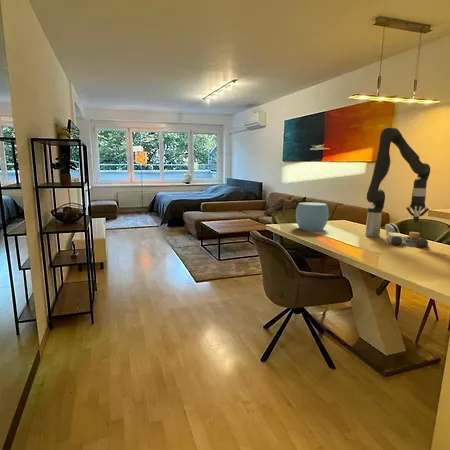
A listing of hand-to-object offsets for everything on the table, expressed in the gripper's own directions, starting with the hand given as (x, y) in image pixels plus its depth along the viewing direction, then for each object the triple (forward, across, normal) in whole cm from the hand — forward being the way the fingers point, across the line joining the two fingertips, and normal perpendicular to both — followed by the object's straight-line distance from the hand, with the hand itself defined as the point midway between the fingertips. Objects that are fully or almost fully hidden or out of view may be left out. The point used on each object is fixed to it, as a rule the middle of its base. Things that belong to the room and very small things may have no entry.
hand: (415, 222), depth 208 cm
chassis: (+14, -4, 0) cm, 15 cm away
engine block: (+13, 0, 0) cm, 13 cm away
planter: (+14, -67, +25) cm, 73 cm away
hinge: (+15, -9, +25) cm, 31 cm away
